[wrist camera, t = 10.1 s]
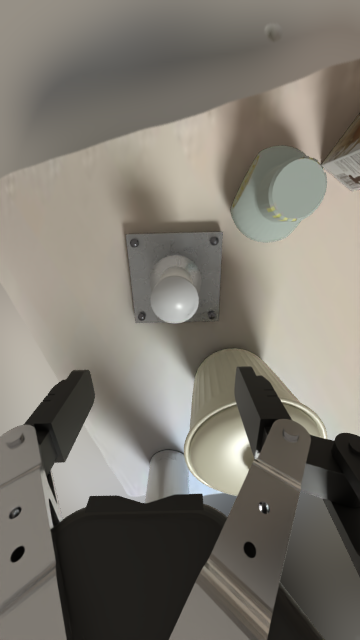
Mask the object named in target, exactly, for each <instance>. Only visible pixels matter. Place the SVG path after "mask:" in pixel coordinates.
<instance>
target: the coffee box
mask: <svg viewBox="0 0 360 640" xmlns="http://www.w3.org/2000/svg"><path fill="white" fill-rule="evenodd" d="M322 166H323V168H324V169H326V170H327V171H328V172H329V173H330V174H332V175H333V176H334V177H335V178H336V179H338V180H339V181H340V182H341V183H342V184H343V185H345V186H346V187H347V188H348V189H349V190H351V191H356V190H360V113H359V115H358V116H357V117H356V119H355V120H354V121H353V123H352V124H351V126H350V127H349V128H348V130H347V131H346V132H345V134H344V135H343V136H342V138H341V139H340V140H339V142H338V143H337V144H336V146H335V147H334V148H333V150H332V151H331V152H330V154H329V155H328V156H327V158H326V159H325V160H324V162H323V163H322Z"/></svg>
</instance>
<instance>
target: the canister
mask: <svg viewBox="0 0 360 640" xmlns="http://www.w3.org/2000/svg"><path fill="white" fill-rule="evenodd" d="M240 366H251V367H252V368H253V370H254V372H255V374H256V376H261V375H262V376H263V377H265V378H266V379H267V380H268V381H269V382H270V383H271V385H272V386H273V388H274V391H276V393H277V395H278V397H279V398H280V400H281V402H282V403H283V405H284V407H285V409H286V410H287V412H288V414H289V415H290V417H291V419H292V420H293V421H295V422H297V423H299V424H301V425H302V426H303V427H304V428H305V429H306V430H307V431H308V433H309V434H310V435H313V436H316V437H320V438H324V439H327V432H326V428H325V426H324V424H323V422H322V421H321V419H320V418H319V416H318V415H317V414H316V413H315V412H314V411H312V410H311V409H310V408H308V407H307V406H305V405H303V404H302V403H300V402H299V400H298V399H297V398H296V397H295V396H294V395H293V394H292V392H291V391H290V390H289V389H288V388H287V387H286V386H285V384H284V383H283V382H282V381H281V380H280V379H279V377H278V376H277V375H276V374H275V373H274V372H273V371H272V370H271V369H270V368H269V367H268V365H267V364H266V363H265V362H264V361H262V360H261V359H260V358H259V357H258V356H256V355H255V354H253V353H251V352H249V351H247V350H242V349H236V348H234V349H231V348H229V349H223V350H221V351H218V352H216V353H213V354H212V355H210V356H208V358H206V359H205V360H204V362H202V363H201V365H200V367H199V368H198V370H197V373H196V375H195V380H194V387H193V396H192V408H191V420H190V431H189V433H188V435H187V437H186V440H185V444H184V458H185V462H186V464H187V467H188V468H189V470H190V472H191V473H192V474H193V475H194V476H195V477H196V478H197V479H198V480H199V481H200V482H202V483H203V484H205V485H207V486H209V487H211V488H213V489H215V490H218V491H221V492H224V493H227V494H230V495H236V496H238V493H239V491H240V489H241V487H242V485H243V482H244V480H245V478H246V476H247V473H248V471H249V469H250V467H251V465H252V463H253V461H254V460H255V459H254V456H253V453H252V450H251V447H250V444H249V441H248V438H247V435H246V432H245V429H244V425H243V422H242V419H241V416H240V413H239V410H238V407H237V404H236V401H235V395H234V387H235V376H236V368H237V367H240ZM256 460H257V459H256Z"/></svg>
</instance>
